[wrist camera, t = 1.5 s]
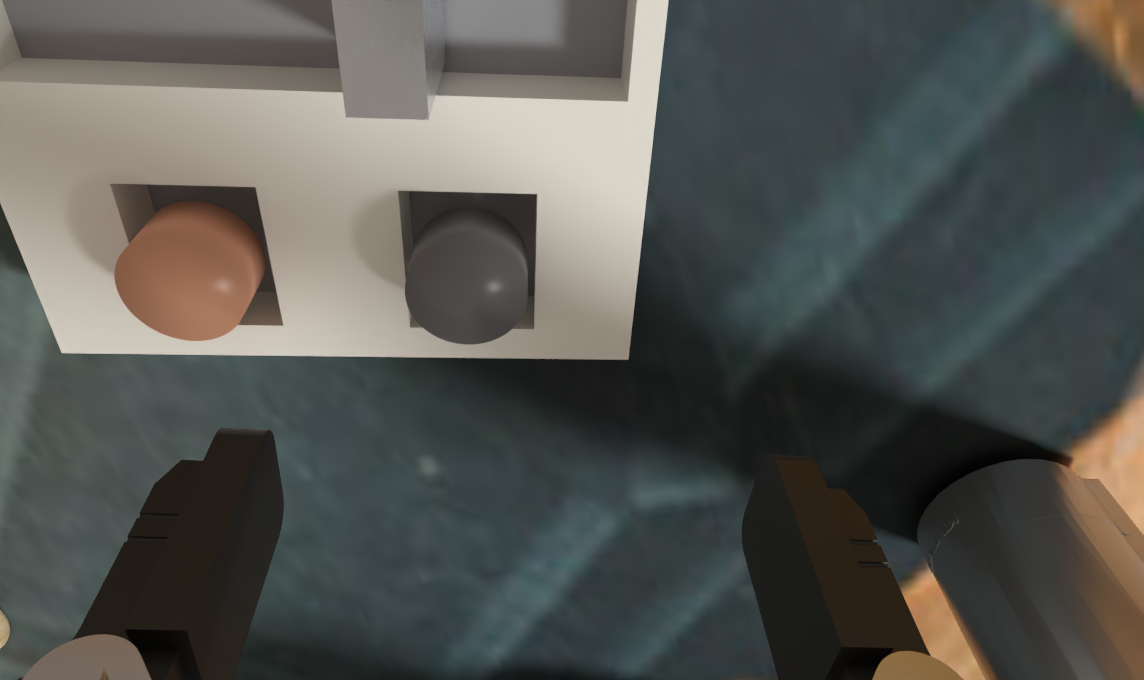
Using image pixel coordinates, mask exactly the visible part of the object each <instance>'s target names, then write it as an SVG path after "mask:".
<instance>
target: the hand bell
mask: <svg viewBox="0 0 1144 680" xmlns="http://www.w3.org/2000/svg"><path fill="white" fill-rule="evenodd" d="M9 634H10V626H9V623H8V619H7V618H6V616H5V614H4V613H3V612H2V610H1V609H0V648H2V647H3V646H4V645H5V643H6V642H7V640H8V638H9Z"/></svg>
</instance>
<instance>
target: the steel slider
mask: <svg viewBox="0 0 1144 680" xmlns="http://www.w3.org/2000/svg"><path fill="white" fill-rule="evenodd" d="M331 1H332V9H333V17H334V25H335V33H336V42H337V50H338V58H339V66H340V74H341V82H342V90H343V99H344V107H345V115H346V117H348V118H381V119H415V120H429V117H430V114H431V110H432V107H433V103H434V100H435V96H436V93H437V89H438V86H439V82H440V79H441V75H442V72H443V69H444V65H445V45H444V23H443V2H442V0H331Z"/></svg>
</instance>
